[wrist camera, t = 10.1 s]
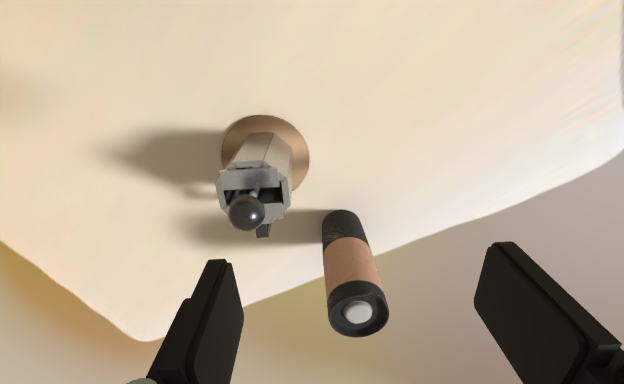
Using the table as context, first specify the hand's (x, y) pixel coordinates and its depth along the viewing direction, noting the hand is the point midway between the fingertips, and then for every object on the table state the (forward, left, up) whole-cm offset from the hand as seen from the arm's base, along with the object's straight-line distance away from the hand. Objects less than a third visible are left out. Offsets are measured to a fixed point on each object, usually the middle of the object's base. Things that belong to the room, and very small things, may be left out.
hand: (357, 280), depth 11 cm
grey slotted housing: (+9, -9, -36) cm, 38 cm away
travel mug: (+22, +3, -36) cm, 43 cm away
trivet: (+8, -9, -36) cm, 38 cm away
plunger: (+8, -9, -32) cm, 35 cm away
